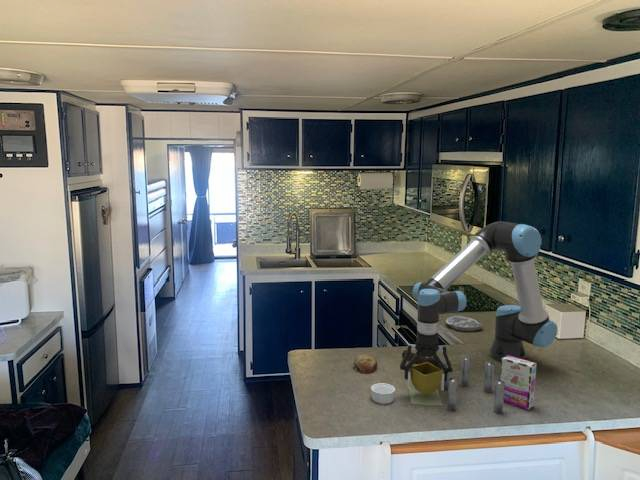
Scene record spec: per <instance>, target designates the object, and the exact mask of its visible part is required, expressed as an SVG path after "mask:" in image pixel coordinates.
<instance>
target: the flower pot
mask: <svg viewBox="0 0 640 480" xmlns="http://www.w3.org/2000/svg"><path fill="white" fill-rule="evenodd" d="M442 372H443V370H442V368H441V369H439V368H437V367H436V366H434V365H432V364H430V363H428V362H426V363H422V364H420V363H418V364H414V365H413V366H412V367H411V368H410V382H411V383H412V385H413V388H415V389H416V390H417V391H419V392H420V393H422V394H423V395H426V394H430V393H433V392H435V391H436V390H437V389H438V390H439V388H440V387H439V386H441V377H442Z"/></svg>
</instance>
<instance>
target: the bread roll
mask: <svg viewBox="0 0 640 480" xmlns="http://www.w3.org/2000/svg"><path fill="white" fill-rule="evenodd" d="M353 369H354V371H355V372H358V373H363V374H372V373H375V372H376V371H377V369H378V362H377V359H376V358H375V357H374V356H373V355H371V354H369V353H366V354H365V353H364V354H359V355H357V356H355V358H354V360H353Z"/></svg>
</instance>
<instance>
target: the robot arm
mask: <svg viewBox="0 0 640 480" xmlns="http://www.w3.org/2000/svg"><path fill="white" fill-rule="evenodd" d="M541 246H542V236H541V233H540V232H539V231H538V229H537V228H535V227H533V226H531V225H528V224H524V223H515V222H509V221H504V220H503V221H502V220H501V221H495V222H492V223H490V224H487V225H486V226H484V227H482V228H481V229H479V230H477V232H475V233H474V234H473V235H472V236H471V237H470V240H469V242H468V243H467V244H466V245H464V247H463V248H461V249H460V251H458V252H457V253H456V254H455V255H454V256H452V257H451V258H450V260H449V261H448V262H446V263H445V264H444V265H443V266H442V267H441V268H439V269H438V271H436V272H435V273H434V274H433V275H432V276H431V277H430V278H429V279H428V280H426V282H424V281H419V282H417V283H415V284H414V286H413V288H412V296H413V298H414V299H415V300H416V301H417V321H416V323H417V324H416V330H417V332H416V342H415V344H411V343H407V348H406V350H407V351H406V353H405V355H404V357H403V358H402V360H401V362H400V364H399V369H400V370H401V371H404V380H406V381H407V382H406V387H407V388H406V389H407V390H409V389H410V387H411V375H410V368H411V367H412V366H414V365H415V363H417V362H416V361H417V360H418V359H419V358H420V357H421V356H422V357H427V358H429V357H433V358H434V359H435V360H436V361H437V363H438V364H439V366H440V367H441V370H443V372H442V377H441V382H440V390H441V391H442V392H443V391H445V390H444V381H447V374H448V372H450V373H452V372H453V371H454V370H453V368H452V363H451V364H450V361H451V360H450V358H449V356H448V353H447V345H445V344H442V345H439V343H438V342H439V321H440V319H439V318H440V315H445V314H450V313H457V312H460V311H463V310H465V308H466V307H467V301H468V300H467V297H466V295H465V294H464V292H462V291H460V290H453V291H449V290H448V289H449V288H450V287H451V286H452V285H453V284H454V283H456V282H457V280H458V279H460V278H461V277H462V276H463V275H464V274H465V273H466V272H468V270H469V269H470V268H471V267H473V266H474V265H475V264H476V263H477V262H478V261H479V260H480V259H481V258H482V257H483V256H488V255H489V254H490V253H491V252H493V251H497V250H498V251H502V252H504V255H505V259H506V261H507V262H509V263H510V265H511V269H512V274H513V279H514V284H515V290H516V294H517V298H518V303H519V305H516V304H506V305H500V306H499V307H497V309H496V315H495V328H494V339H493V341H492V343H491V346H490V349H489V356H490V357H491V358H492V359H494V360H496V361H499V362H501V361H502V358H503V357H505V356H507V355H509V356H513V357H516V358H520V359H523V360H526V358H527V353H526V348H525V346H524V342H525V343H528V344H530V345H533V346H535V347H538V348H542V349H543V348H547V347H549V346H550V345H551V344H552V343H553V342H554V341H555V339H556V338H557V335H558V325H557V323H556V322H554V321H553V320H550V317H549V312H548V311H547V310H546V309H544V306H543V299H542V294H541V290H540V285H539V280H538V275H537V268H536V264H535V263H536V262H535V259H536V257H537V256H538V254H539V252H540V250H541ZM414 350H416V352H415V355H414V356H413V357H412V359H411V360H408V358H409V356H410V354H411V352H413V351H414ZM439 350H440V353H442V355H443V358H444V360H446V363H447V366H448V368H446V367H445V366H444V364H443V363H442V360H441V359H440V357H439V355H438V354H437V352H438V351H439Z"/></svg>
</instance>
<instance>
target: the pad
mask: <svg viewBox="0 0 640 480" xmlns="http://www.w3.org/2000/svg"><path fill="white" fill-rule="evenodd" d="M408 393H409V401H410V405H411V406H423V407H424V406H425V407H426V406H427V407H443V403H442V400H441V396H440V395H441V394H440V393H439V388H438V389H437V390H436V391H435V392H433V393H430V394H426V395H423V394H422V393H420V392H419V391H417V390H416V389H415V387H414V386H413V387H411V386H410V389H408Z"/></svg>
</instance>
